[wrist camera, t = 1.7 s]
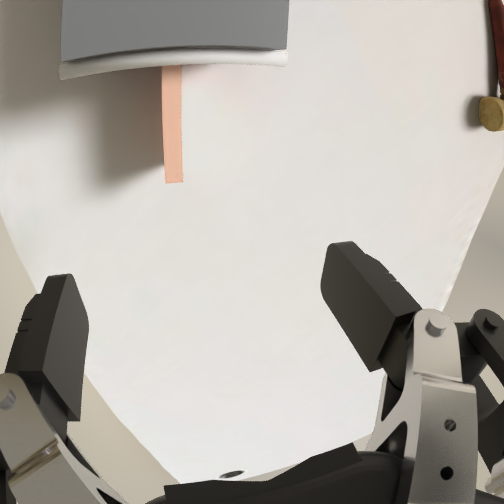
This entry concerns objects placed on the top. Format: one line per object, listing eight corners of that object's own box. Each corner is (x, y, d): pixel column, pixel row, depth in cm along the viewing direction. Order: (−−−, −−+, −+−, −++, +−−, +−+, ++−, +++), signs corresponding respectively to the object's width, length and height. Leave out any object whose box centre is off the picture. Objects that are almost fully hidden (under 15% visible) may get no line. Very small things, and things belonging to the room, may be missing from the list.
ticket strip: (174, -90, 12) (178, -117, 8) (189, -90, 12) (196, -117, 8) (165, 162, 25) (165, 183, 21) (179, 160, 25) (183, 181, 21)
